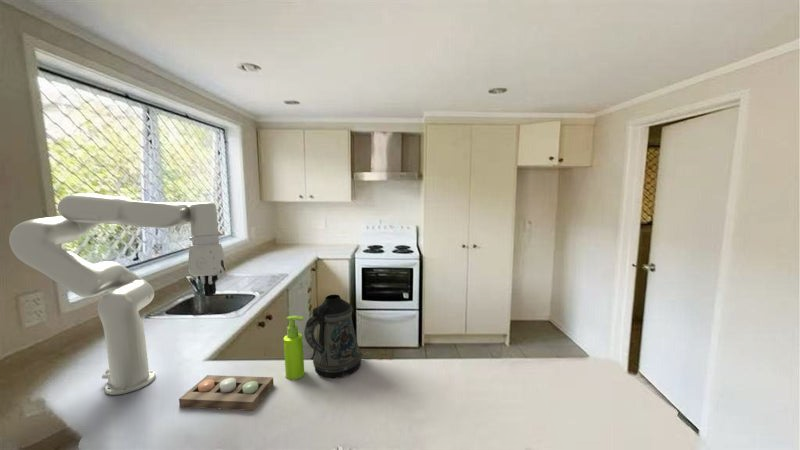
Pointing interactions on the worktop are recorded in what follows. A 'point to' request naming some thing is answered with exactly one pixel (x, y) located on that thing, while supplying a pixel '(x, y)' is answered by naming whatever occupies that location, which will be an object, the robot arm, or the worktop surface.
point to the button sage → (250, 387)
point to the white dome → (228, 385)
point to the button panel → (226, 394)
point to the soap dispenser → (293, 350)
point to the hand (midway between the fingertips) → (210, 294)
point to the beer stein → (333, 339)
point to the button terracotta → (206, 386)
